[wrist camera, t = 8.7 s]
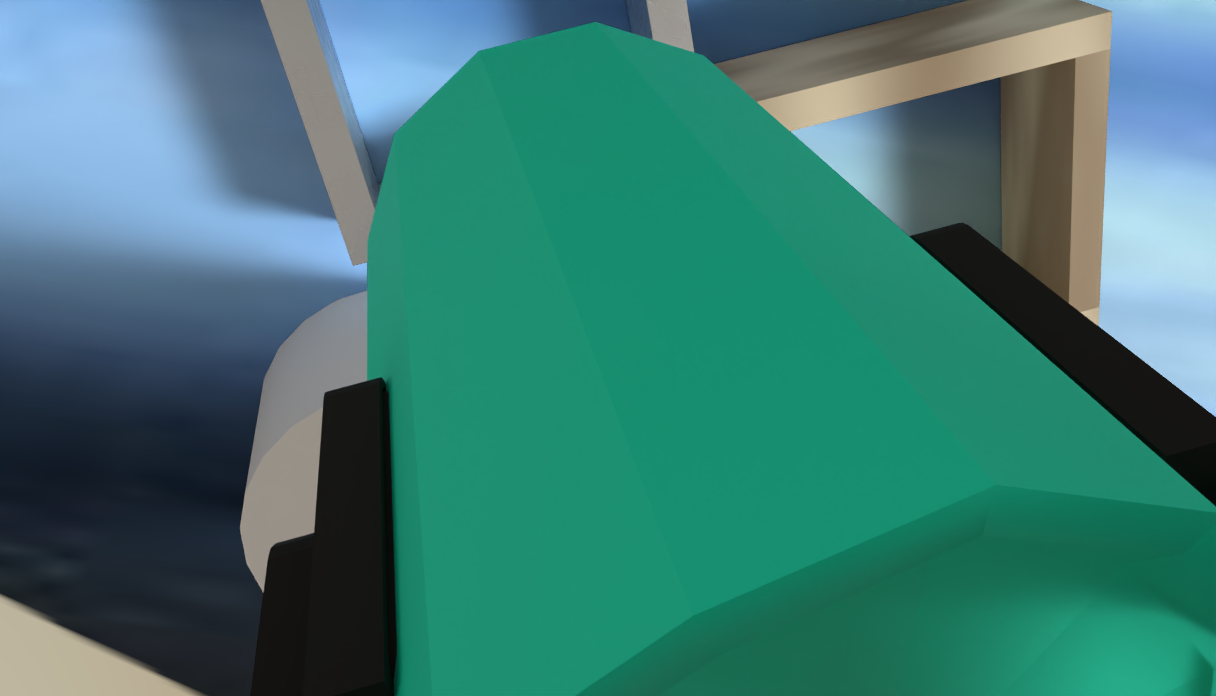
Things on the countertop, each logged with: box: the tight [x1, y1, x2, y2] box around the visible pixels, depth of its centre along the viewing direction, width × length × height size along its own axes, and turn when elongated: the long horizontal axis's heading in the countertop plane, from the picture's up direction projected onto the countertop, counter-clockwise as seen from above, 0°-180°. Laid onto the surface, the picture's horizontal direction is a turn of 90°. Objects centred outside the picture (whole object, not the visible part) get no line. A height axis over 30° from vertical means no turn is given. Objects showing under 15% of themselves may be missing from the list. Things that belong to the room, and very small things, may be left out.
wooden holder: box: [261, 0, 694, 266], centre depth 28 cm, size 10×10×3 cm
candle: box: [367, 22, 1216, 696], centre depth 10 cm, size 6×6×12 cm
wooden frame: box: [714, 0, 1112, 326], centre depth 32 cm, size 10×10×4 cm
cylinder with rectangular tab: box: [240, 290, 367, 592], centre depth 30 cm, size 9×9×12 cm
